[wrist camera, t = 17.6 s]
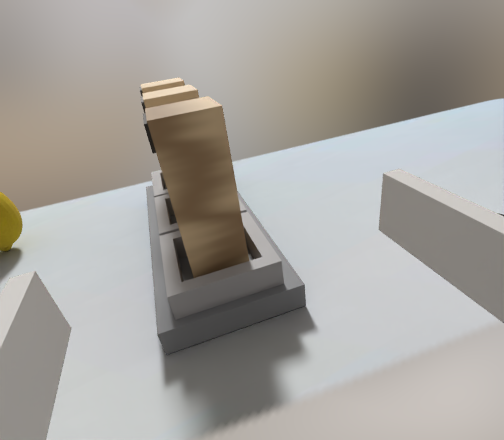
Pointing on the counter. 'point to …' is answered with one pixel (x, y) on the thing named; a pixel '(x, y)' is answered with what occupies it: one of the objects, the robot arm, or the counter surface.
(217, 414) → the counter surface
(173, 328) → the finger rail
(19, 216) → the lemon
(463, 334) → the counter surface
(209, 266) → the oak finger
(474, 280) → the robot arm
